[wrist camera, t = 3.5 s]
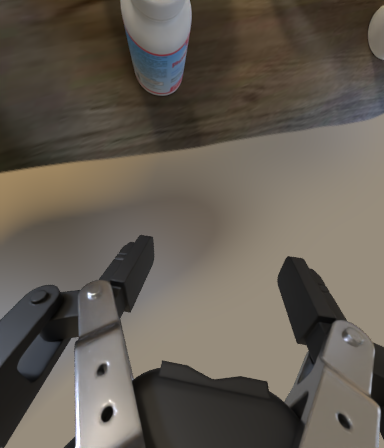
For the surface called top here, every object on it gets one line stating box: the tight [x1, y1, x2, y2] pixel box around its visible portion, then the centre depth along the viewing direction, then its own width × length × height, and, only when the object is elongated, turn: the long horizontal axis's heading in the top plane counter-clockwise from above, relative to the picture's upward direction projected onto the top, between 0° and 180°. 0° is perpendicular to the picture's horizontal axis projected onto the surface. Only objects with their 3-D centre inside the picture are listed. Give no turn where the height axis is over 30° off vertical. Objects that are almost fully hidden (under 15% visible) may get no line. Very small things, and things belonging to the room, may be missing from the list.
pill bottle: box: [120, 0, 192, 96], centre depth 18 cm, size 6×6×11 cm
